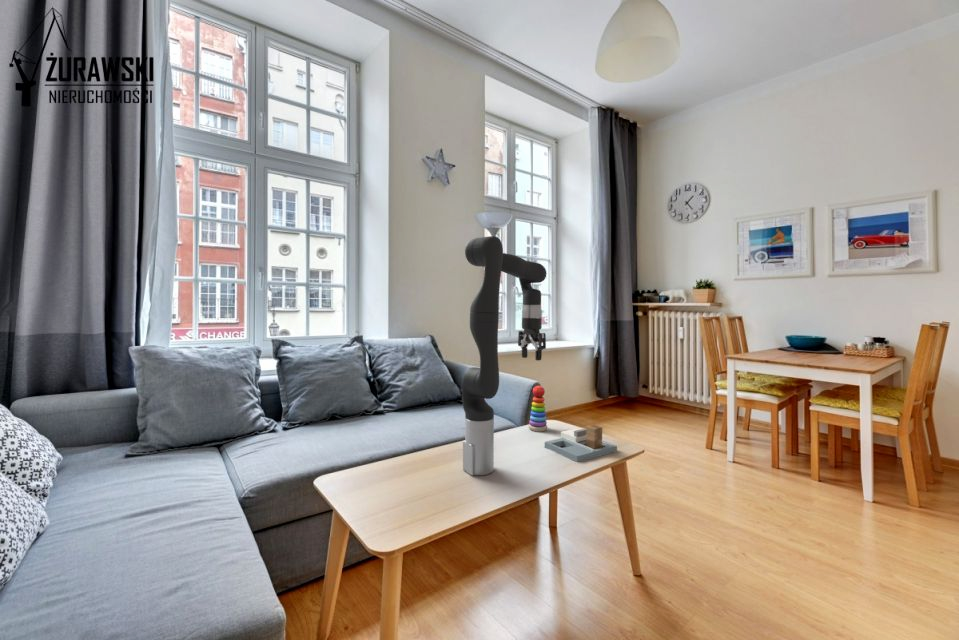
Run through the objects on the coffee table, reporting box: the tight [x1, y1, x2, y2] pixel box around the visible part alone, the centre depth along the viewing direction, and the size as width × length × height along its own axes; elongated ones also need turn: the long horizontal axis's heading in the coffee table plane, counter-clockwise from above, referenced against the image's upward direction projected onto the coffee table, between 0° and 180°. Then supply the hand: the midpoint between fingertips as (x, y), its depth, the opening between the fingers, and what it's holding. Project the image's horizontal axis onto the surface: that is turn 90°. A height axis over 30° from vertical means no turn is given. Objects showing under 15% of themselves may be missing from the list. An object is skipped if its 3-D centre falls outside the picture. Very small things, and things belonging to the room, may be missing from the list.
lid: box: [560, 427, 586, 442], centre depth 159 cm, size 8×8×4 cm
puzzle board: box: [544, 437, 618, 463], centre depth 153 cm, size 20×17×3 cm
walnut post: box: [585, 424, 603, 450], centre depth 151 cm, size 4×4×9 cm
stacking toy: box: [528, 385, 548, 432], centre depth 176 cm, size 8×8×19 cm
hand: (531, 358), depth 158 cm, fingers open, 8 cm apart
